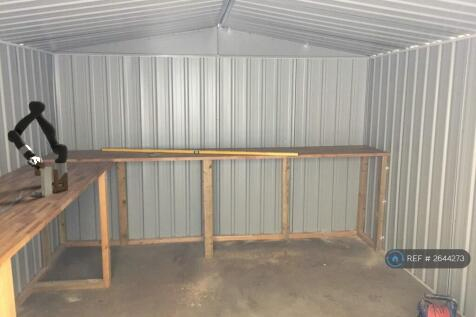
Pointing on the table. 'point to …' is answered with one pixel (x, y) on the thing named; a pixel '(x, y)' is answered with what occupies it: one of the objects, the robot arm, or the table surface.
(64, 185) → the wooden rod assembly
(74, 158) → the table surface
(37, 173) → the brown rectangular block
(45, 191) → the grey stand
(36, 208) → the table surface
